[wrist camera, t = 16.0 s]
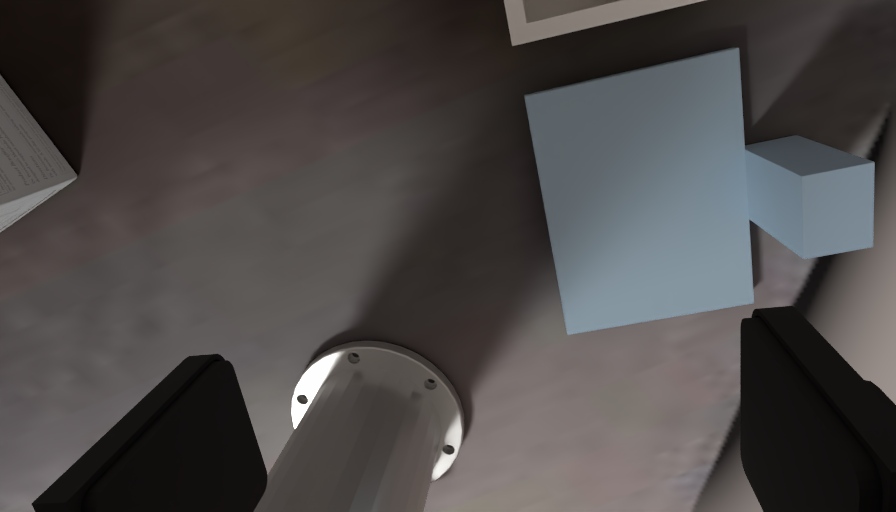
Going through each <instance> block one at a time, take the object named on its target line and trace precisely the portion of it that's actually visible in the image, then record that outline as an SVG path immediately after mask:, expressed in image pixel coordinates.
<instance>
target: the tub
mask: <svg viewBox="0 0 896 512" xmlns="http://www.w3.org/2000/svg"><path fill="white" fill-rule="evenodd" d="M701 1H705V0H504V4H505V9H506V15H507V20H508V26H509V31H510V37H511V42H512V46H515V45H520V44H524V43H528V42H532V41H536V40H541V39H545V38H549V37H553V36H558V35H562V34H566V33H570V32H574V31H579V30H583V29H587V28H591V27H595V26H600V25H604V24H608V23H612V22H617V21H621V20H625V19H629V18H633V17H638V16H642V15H646V14H650V13H654V12H659V11H663V10H667V9H671V8H676V7H680V6H684V5H688V4H692V3H697V2H701Z"/></svg>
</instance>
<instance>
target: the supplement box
mask: <svg viewBox="0 0 896 512" xmlns="http://www.w3.org/2000/svg"><path fill="white" fill-rule="evenodd" d="M76 178H77V174H76V173H75V172H74V170H73V169H72V168H71V166H70V165H69V164H68V162H67V161H66V160H65V158H64V157H63V156H62V155H61V153H60V152H59V151H58V149H57V148H56V147H55V145H54V144H53V143H52V141H51V140H50V139H49V138H48V136H47V135H46V134H45V132H44V131H43V130H42V128H41V127H40V126H39V124H38V123H37V122H36V121H35V119H34V118H33V117H32V115H31V114H30V113H29V111H28V110H27V109H26V107H25V106H24V105H23V104H22V102H21V101H20V100H19V98H18V97H17V96H16V94H15V93H14V92H13V90H12V89H11V88H10V86H9V85H8V84H7V83H6V81H5V80H4V79H3V77H2V76H1V75H0V232H1V231H3V230H4V229H6V228H7V227H9V226H10V225H12V224H13V223H15V222H16V221H17V220H19V219H20V218H22V217H23V216H24V215H26V214H27V213H29V212H30V211H31V210H33V209H34V208H35V207H37V206H38V205H40V204H41V203H43V202H44V201H45V200H47V199H48V198H50V197H51V196H53V195H54V194H55V193H57V192H58V191H60V190H61V189H63V188H64V187H65V186H67V185H68V184H70V183H71V182H72V181H74V180H75V179H76Z"/></svg>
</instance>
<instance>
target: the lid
mask: <svg viewBox="0 0 896 512" xmlns="http://www.w3.org/2000/svg"><path fill="white" fill-rule="evenodd" d="M524 99H525V105H526V110H527V116H528V121H529V127H530V132H531V138H532V143H533V149H534V154H535V160H536V165H537V171H538V176H539V182H540V187H541V193H542V198H543V204H544V209H545V215H546V221H547V226H548V232H549V237H550V243H551V248H552V254H553V259H554V265H555V270H556V276H557V281H558V287H559V292H560V298H561V303H562V309H563V314H564V320H565V325H566V330H567V334H568V335H570V334H576V333H582V332H588V331H594V330H599V329H605V328H611V327H617V326H623V325H629V324H634V323H640V322H646V321H652V320H658V319H664V318H670V317H675V316H681V315H687V314H693V313H699V312H705V311H710V310H716V309H722V308H728V307H734V306H740V305H746V304H751V303H754V294H753V277H752V260H751V243H750V226H749V219H750V220H751V221H752V222H754V223H755V224H756V225H758V226H759V227H761V228H762V229H763V230H765V231H766V232H767V233H769V234H770V235H771V236H773V237H774V238H776V239H777V240H778V241H780V242H781V243H782V244H784V245H785V246H786V247H788V248H789V249H791V250H792V251H793V252H795V253H796V254H797V255H799V256H800V257H801V258H803V259H808V258H814V257H819V256H824V255H831V254H836V253H841V252H847V251H853V250H859V249H864V248H870V247H873V217H874V162H872V161H869V160H867V159H864V158H861V157H858V156H855V155H852V154H850V153H847V152H844V151H841V150H838V149H835V148H832V147H830V146H827V145H824V144H821V143H818V142H815V141H812V140H810V139H807V138H804V137H801V136H798V135H794V136H789V137H784V138H779V139H774V140H769V141H765V142H760V143H755V144H750V145H745V141H744V124H743V106H742V89H741V72H740V55H739V48H735V47H732V48H728V49H724V50H719V51H715V52H710V53H706V54H702V55H697V56H693V57H688V58H684V59H680V60H675V61H671V62H667V63H662V64H658V65H653V66H649V67H645V68H640V69H636V70H631V71H627V72H623V73H618V74H614V75H610V76H605V77H601V78H596V79H592V80H588V81H583V82H579V83H574V84H570V85H566V86H561V87H557V88H553V89H548V90H544V91H539V92H535V93H531V94H526V95H524Z"/></svg>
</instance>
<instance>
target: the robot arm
mask: <svg viewBox="0 0 896 512" xmlns="http://www.w3.org/2000/svg"><path fill="white" fill-rule="evenodd" d="M291 415H292V421H293V426H294V429H295V430H294V432H293V433H292V435H291V437H290V438H289V440H288V442H287V443H286V445H285V447H284V449H283V450H282V452H281V454H280V455H279V457H278V459H277V460H276V462H275V464H274V465H273V467H272V469H271V471H270V472H269V474H268V476H267V471H266V468H265V465H264V461H263V458H262V455H261V452H260V449H259V446H258V443H257V439H256V436H255V433H254V430H253V427H252V424H251V421H250V418H249V414H248V411H247V408H246V405H245V402H244V399H243V396H242V393H241V389H240V386H239V383H238V380H237V377H236V374H235V371H234V368H233V365H232V364H231V363H230V362H229V361H225V359H224V358H223V357H222V356H221V355H219V354H211V355H199V356H189V357H187V358H186V359H185V360H183V361H182V362H181V363H180V364H179V365H178V366H177V367H176V368H175V369H174V370H173V371H172V372H171V373H170V374H169V375H168V376H167V377H165V378H164V379H163V380H162V381H161V382H160V383H159V384H158V385H157V386H156V387H155V388H154V389H153V390H152V391H151V392H150V393H148V394H147V395H146V396H145V397H144V398H143V399H142V400H141V401H140V402H139V403H138V404H137V405H136V406H135V407H134V408H133V409H132V410H130V411H129V412H128V413H127V414H126V415H125V416H124V417H123V418H122V419H121V420H120V421H119V422H118V423H117V424H116V425H115V426H113V427H112V428H111V429H110V430H109V431H108V432H107V433H106V434H105V435H104V436H103V437H102V438H101V439H100V440H99V441H98V442H97V443H95V444H94V445H93V446H92V447H91V448H90V449H89V450H88V451H87V452H86V453H85V454H84V455H83V456H82V457H81V458H80V459H79V460H77V461H76V462H75V463H74V464H73V465H72V466H71V467H70V468H69V469H68V470H67V471H66V472H65V473H64V474H63V475H62V476H60V477H59V478H58V479H57V480H56V481H55V482H54V483H53V484H52V485H51V486H50V487H49V488H48V489H47V490H46V491H45V492H44V493H42V494H41V495H40V496H39V497H38V498H37V499H36V500H35V501H34V502H33V503H32V506H33V508H34V510H35V512H423V511H424V507H425V503H426V499H427V494H428V490H429V486H430V484H431V483H432V482H434V481H435V480H437V479H438V478H440V477H441V476H442V475H443V474H444V473H445V472H446V471H447V470H448V469H449V468H450V467H451V466H452V464H453V463H454V461H455V460H456V458H457V456H458V454H459V451H460V448H461V445H462V441H463V435H464V429H465V426H464V412H463V409H462V405H461V401H460V399H459V397H458V395H457V393H456V391H455V389H454V387H453V385H452V384H451V383H450V382H449V380H448V379H447V378H446V376H445V375H444V374H443V373H442V372H441V371H440V370H439V369H438V368H437V367H436V366H434V365H433V364H432V363H431V362H430V361H428V360H426V359H425V358H423V357H422V356H420V355H419V354H417V353H415V352H413V351H410V350H408V349H406V348H404V347H401V346H398V345H394V344H390V343H386V342H378V341H356V342H349V343H345V344H342V345H338V346H335V347H333V348H331V349H329V350H327V351H325V352H323V353H322V354H320V355H319V356H318V357H317V358H315V359H314V360H313V361H312V362H311V363H310V364H309V365H308V367H307V368H306V369H305V371H304V372H303V373H302V375H301V377H300V379H299V380H298V382H297V384H296V385H295V388H294V391H293V394H292V401H291ZM740 444H741V449H740V450H741V460H742V464H743V468H744V471H745V474H746V476H747V478H748V480H749V482H750V484H751V487H752V488H753V491H754V493H755V495H756V497H757V499H758V501H759V503H760V505H761V507H762V509H763V511H764V512H896V405H895V404H894V403H893V402H892V401H891V400H890V399H889V398H888V397H887V396H886V395H885V393H884V392H882V390H881V389H880V388H879V387H877V386H876V385H875V384H873V383H872V382H871V381H866V380H863V379H862V377H861V376H860V375H859V374H858V373H857V372H856V371H855V370H854V369H853V368H852V367H851V366H850V365H849V364H848V363H847V362H846V361H845V360H844V359H843V358H842V356H841V355H839V353H838V352H837V351H836V350H835V349H834V348H833V347H832V346H831V345H830V344H829V343H828V342H827V341H826V340H825V339H824V338H823V336H821V334H820V333H819V332H818V331H817V330H816V329H815V328H814V327H813V326H812V325H811V324H810V323H809V322H808V321H807V320H806V319H805V318H804V316H803V315H802V314H801V313H800V312H799V311H798V310H797V309H796V308H795V307H793V306H786V307H774V308H762V309H755V310H754V311H753V314H752V318H744V319H743V320H742V322H741V443H740Z"/></svg>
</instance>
